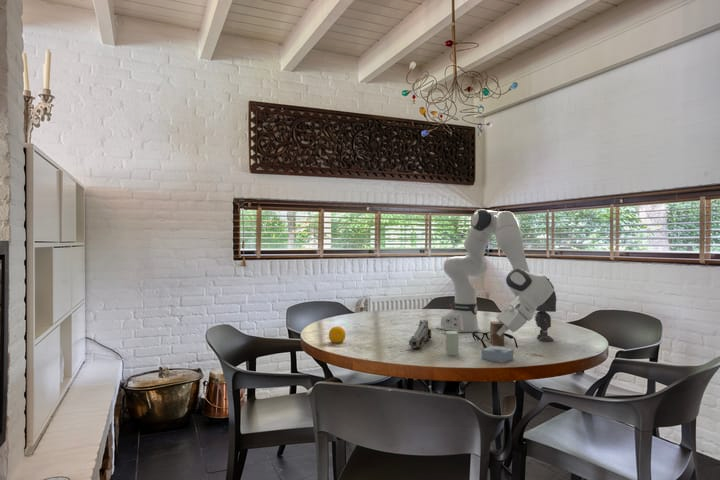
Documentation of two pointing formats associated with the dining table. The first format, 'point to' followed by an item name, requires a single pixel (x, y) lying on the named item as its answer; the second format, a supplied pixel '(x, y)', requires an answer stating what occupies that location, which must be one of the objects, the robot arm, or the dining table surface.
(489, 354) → the slate pedestal
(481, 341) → the glasses
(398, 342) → the dining table surface
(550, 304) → the toy robot
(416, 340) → the toy
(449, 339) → the sage block
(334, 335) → the orange
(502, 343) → the walnut block
